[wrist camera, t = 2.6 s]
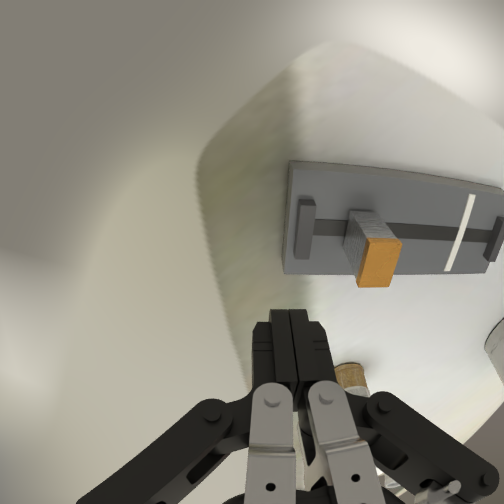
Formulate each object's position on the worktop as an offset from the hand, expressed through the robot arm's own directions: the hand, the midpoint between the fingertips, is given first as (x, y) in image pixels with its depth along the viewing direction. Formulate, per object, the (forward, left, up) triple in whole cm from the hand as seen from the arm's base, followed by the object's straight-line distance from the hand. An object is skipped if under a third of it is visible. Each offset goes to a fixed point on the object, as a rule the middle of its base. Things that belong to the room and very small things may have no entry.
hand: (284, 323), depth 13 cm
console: (-11, 0, -11) cm, 16 cm away
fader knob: (-6, 0, -9) cm, 11 cm away
